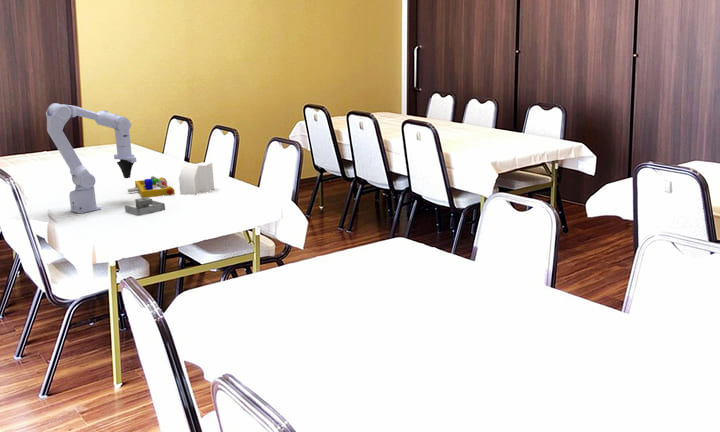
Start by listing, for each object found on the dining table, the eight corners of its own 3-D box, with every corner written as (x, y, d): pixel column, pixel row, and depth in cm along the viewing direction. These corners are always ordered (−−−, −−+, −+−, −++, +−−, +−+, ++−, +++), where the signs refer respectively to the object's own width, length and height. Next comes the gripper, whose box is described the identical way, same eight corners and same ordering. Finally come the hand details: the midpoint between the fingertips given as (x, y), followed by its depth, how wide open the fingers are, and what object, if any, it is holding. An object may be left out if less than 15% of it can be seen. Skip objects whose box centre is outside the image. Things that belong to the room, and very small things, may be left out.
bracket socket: (139, 215, 304) (138, 208, 303) (125, 211, 311) (124, 204, 310) (166, 209, 312) (165, 202, 311) (151, 205, 319) (151, 198, 318)
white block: (214, 189, 346) (212, 162, 343) (202, 195, 336) (200, 167, 333) (192, 188, 349) (190, 162, 346) (180, 194, 339) (177, 167, 336)
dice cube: (141, 213, 308) (140, 201, 306) (136, 211, 312) (135, 199, 310) (153, 211, 311) (152, 199, 309) (148, 209, 314) (147, 197, 313)
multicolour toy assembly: (163, 170, 364) (174, 181, 337) (165, 183, 365) (175, 196, 338) (123, 174, 357) (130, 186, 330) (124, 187, 359) (131, 201, 332)
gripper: (141, 145, 319) (144, 178, 323) (123, 142, 329) (127, 174, 332) (125, 148, 314) (129, 181, 318) (108, 145, 324) (111, 176, 328)
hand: (127, 177), depth 325 cm, fingers closed
